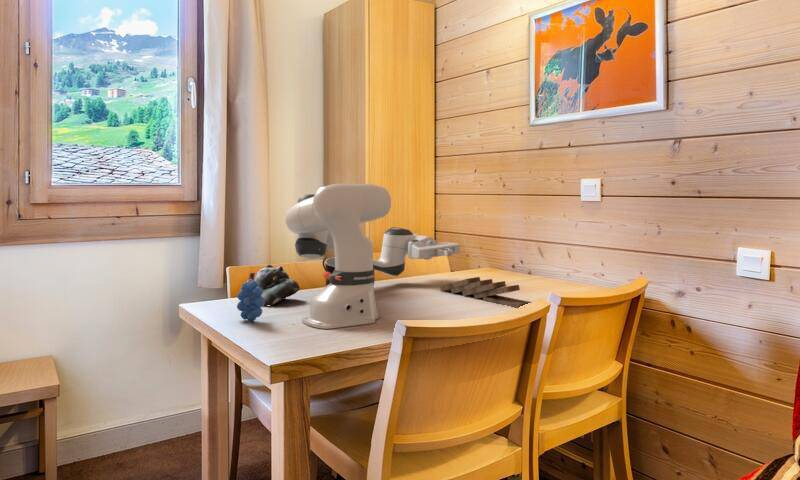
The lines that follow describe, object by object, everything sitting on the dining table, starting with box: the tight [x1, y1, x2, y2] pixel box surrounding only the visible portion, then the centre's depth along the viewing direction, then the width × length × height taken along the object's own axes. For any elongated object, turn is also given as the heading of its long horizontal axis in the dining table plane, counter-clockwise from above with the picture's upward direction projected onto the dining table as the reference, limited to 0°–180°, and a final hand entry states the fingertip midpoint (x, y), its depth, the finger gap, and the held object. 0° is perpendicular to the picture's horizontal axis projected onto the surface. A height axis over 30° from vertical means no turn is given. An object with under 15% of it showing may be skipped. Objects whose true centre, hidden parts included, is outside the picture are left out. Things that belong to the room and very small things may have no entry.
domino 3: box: [461, 280, 507, 297], centre depth 191 cm, size 6×2×15 cm
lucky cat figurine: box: [246, 264, 301, 306], centre depth 185 cm, size 15×12×14 cm
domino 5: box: [482, 294, 532, 309], centre depth 183 cm, size 6×2×15 cm
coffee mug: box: [322, 257, 335, 287], centre depth 207 cm, size 12×9×10 cm
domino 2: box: [450, 278, 494, 294], centre depth 195 cm, size 6×2×15 cm
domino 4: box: [473, 284, 520, 299], centre depth 187 cm, size 6×2×15 cm
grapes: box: [236, 281, 265, 323], centre depth 159 cm, size 12×7×12 cm, turn 50°
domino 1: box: [440, 276, 481, 292], centre depth 200 cm, size 6×2×15 cm
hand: (450, 253), depth 204 cm, fingers closed
